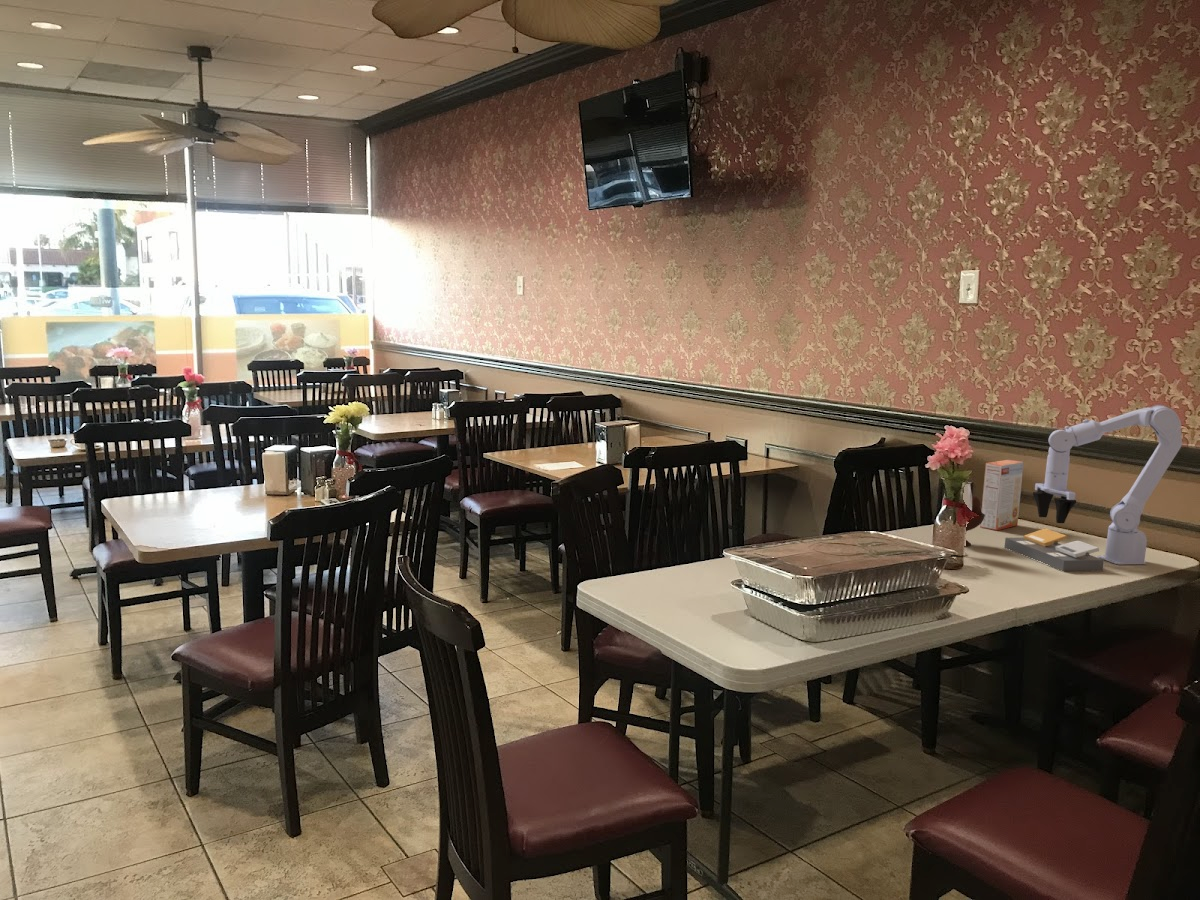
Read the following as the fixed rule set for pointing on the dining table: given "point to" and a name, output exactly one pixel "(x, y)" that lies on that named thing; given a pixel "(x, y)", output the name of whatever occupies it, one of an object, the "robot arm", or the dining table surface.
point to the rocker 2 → (1077, 549)
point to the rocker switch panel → (1054, 556)
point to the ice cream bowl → (976, 520)
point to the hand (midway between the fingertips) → (1051, 520)
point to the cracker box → (1001, 494)
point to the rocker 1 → (1045, 537)
